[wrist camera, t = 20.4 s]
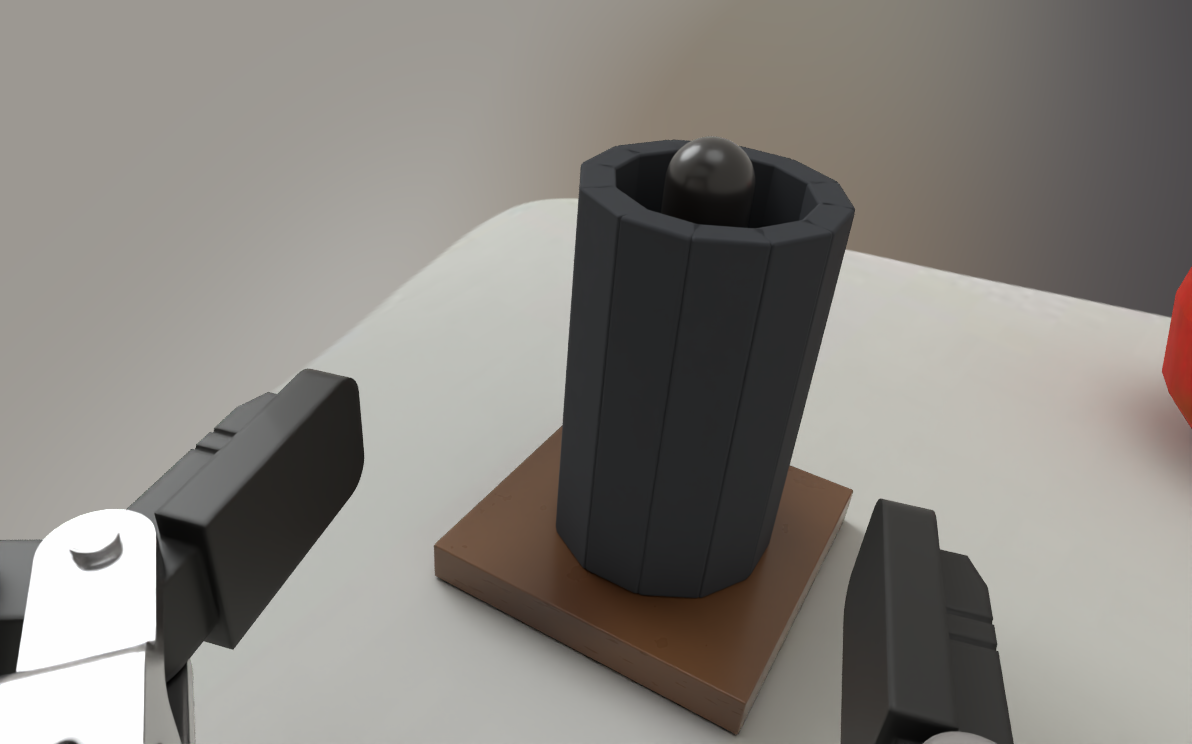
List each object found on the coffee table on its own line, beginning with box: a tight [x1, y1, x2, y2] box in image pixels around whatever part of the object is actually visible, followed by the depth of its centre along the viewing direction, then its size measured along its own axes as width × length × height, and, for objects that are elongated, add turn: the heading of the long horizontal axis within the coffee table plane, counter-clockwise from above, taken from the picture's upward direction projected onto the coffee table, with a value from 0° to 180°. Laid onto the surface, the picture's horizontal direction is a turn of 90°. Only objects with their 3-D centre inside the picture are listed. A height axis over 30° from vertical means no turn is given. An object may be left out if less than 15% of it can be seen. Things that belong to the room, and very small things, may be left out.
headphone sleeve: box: [556, 140, 855, 598], centre depth 22 cm, size 6×6×10 cm
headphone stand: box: [434, 136, 853, 735], centre depth 22 cm, size 9×9×12 cm
